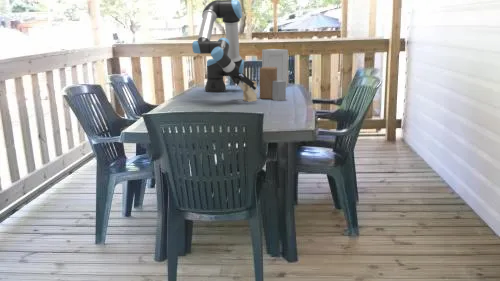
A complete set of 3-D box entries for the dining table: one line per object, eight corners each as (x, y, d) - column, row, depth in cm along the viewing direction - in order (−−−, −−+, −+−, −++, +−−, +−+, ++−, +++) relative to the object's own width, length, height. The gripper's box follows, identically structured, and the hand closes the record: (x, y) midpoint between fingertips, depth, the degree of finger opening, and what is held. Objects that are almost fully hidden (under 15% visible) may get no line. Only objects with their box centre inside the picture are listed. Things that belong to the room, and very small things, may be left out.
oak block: (243, 100, 290) (243, 81, 287) (251, 99, 293) (251, 80, 290) (248, 101, 285) (248, 82, 282) (256, 100, 288) (256, 81, 285)
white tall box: (283, 84, 363) (284, 48, 356) (287, 87, 349) (288, 49, 342) (259, 85, 361) (260, 49, 354) (262, 87, 346) (263, 50, 339)
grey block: (272, 99, 293) (272, 81, 290) (279, 98, 296) (280, 80, 293) (278, 101, 288) (278, 81, 285) (285, 100, 291) (285, 81, 288)
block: (274, 99, 293) (275, 68, 288) (259, 98, 295) (259, 67, 290) (276, 97, 303) (277, 66, 298) (262, 96, 305) (262, 66, 300)
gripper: (216, 71, 285) (237, 93, 297) (238, 74, 265) (259, 98, 277) (223, 62, 286) (243, 84, 298) (245, 65, 266) (266, 88, 278)
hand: (251, 91), depth 288 cm, fingers open, 13 cm apart
